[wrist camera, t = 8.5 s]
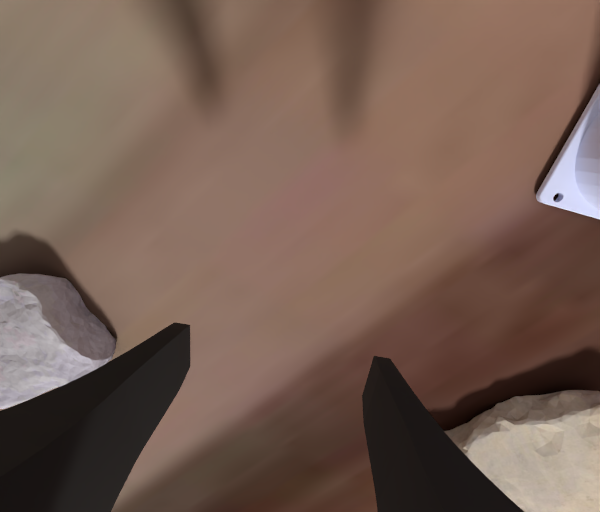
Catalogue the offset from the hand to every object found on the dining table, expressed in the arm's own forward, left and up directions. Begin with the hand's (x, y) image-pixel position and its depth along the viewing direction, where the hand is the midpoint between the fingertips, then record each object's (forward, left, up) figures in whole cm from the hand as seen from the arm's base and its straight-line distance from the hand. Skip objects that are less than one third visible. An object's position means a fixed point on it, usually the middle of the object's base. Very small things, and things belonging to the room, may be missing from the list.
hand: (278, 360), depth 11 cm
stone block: (+20, +11, -10) cm, 25 cm away
